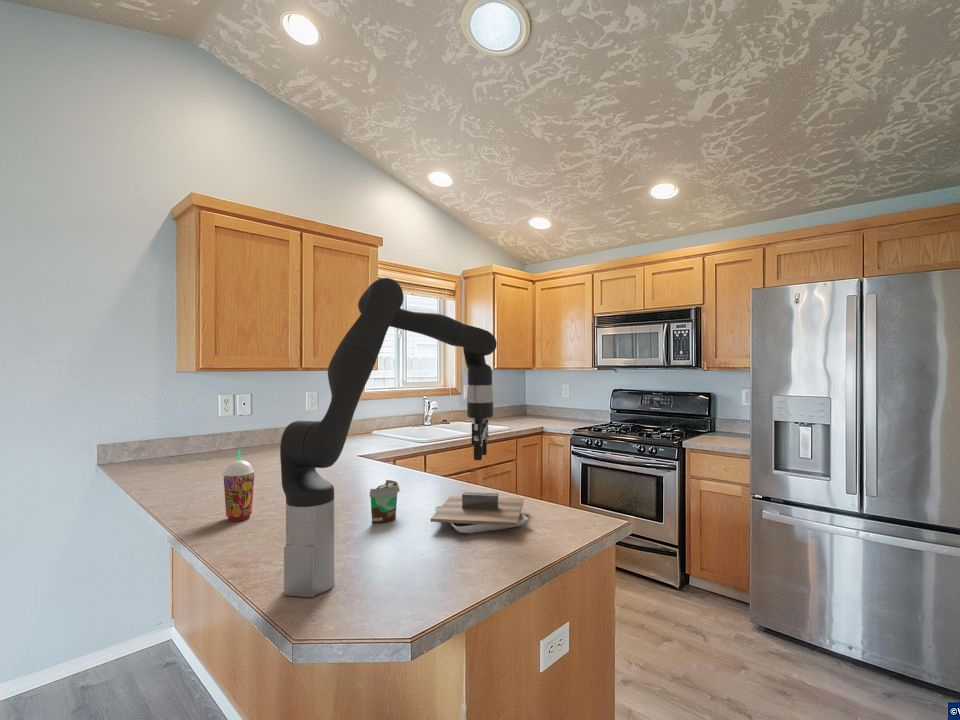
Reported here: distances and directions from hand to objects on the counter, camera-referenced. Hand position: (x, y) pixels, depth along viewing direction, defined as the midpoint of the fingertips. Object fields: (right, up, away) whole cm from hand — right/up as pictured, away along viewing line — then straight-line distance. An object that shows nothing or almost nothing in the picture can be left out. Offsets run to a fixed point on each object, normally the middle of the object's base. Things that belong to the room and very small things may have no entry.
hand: (480, 457), depth 138 cm
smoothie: (-71, -19, +4) cm, 74 cm away
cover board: (0, -15, 0) cm, 15 cm away
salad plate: (0, -19, -1) cm, 19 cm away
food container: (-27, -19, +2) cm, 33 cm away
